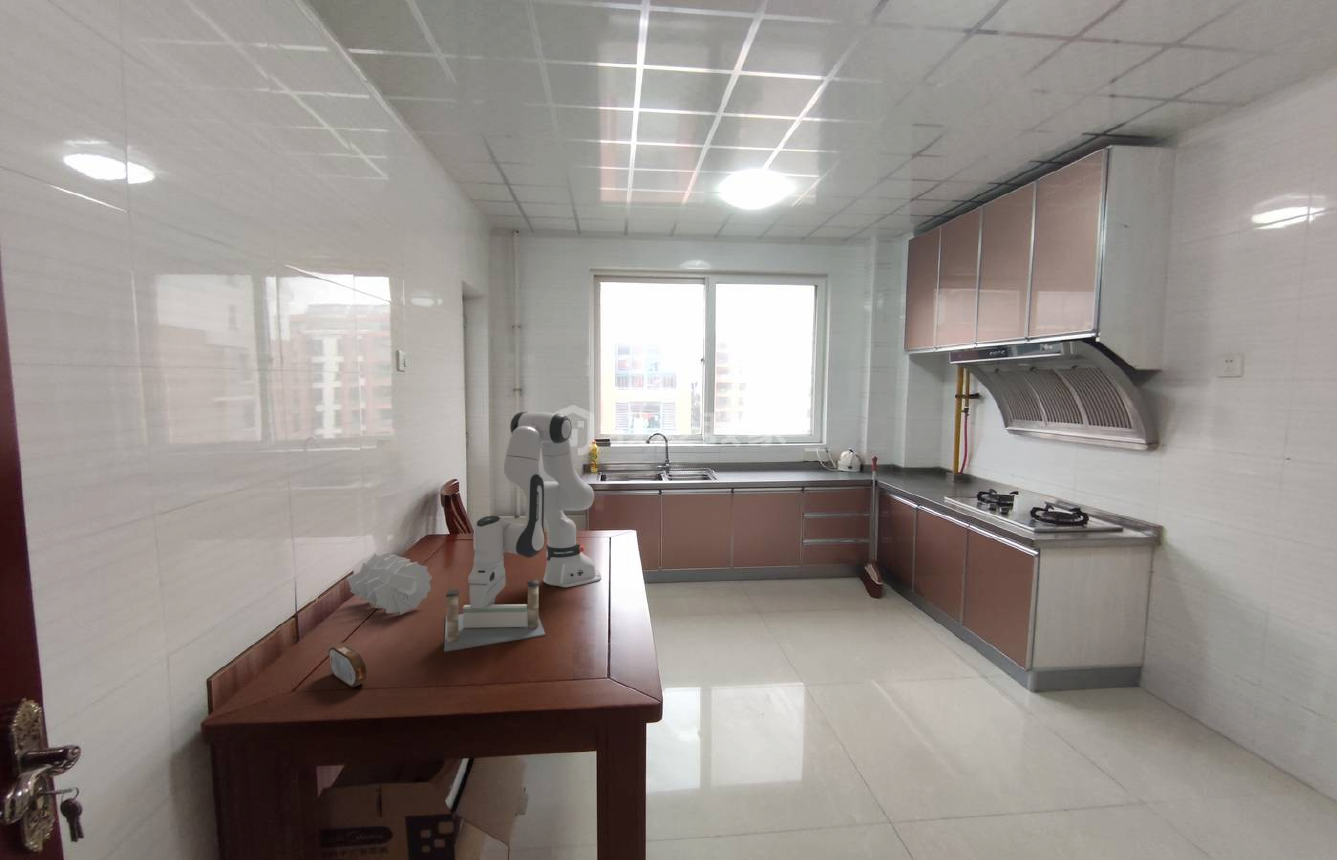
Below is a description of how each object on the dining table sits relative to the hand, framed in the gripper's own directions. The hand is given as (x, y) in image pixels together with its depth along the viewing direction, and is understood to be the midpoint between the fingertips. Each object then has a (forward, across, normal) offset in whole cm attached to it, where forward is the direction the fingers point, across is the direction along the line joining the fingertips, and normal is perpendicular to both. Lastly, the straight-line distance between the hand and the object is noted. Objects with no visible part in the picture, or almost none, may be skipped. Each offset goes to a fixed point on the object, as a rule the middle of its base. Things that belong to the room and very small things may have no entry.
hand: (489, 612), depth 161 cm
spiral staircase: (+4, -12, -38) cm, 40 cm away
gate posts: (+4, +6, +4) cm, 9 cm away
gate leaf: (+3, +3, +3) cm, 5 cm away
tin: (+4, +33, -24) cm, 41 cm away
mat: (+4, +1, +2) cm, 5 cm away
